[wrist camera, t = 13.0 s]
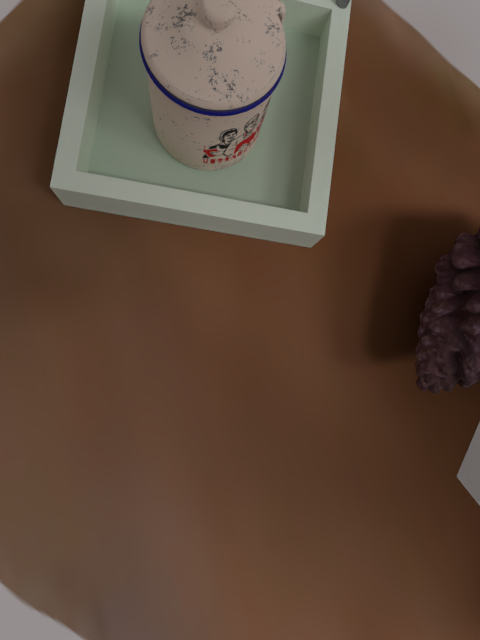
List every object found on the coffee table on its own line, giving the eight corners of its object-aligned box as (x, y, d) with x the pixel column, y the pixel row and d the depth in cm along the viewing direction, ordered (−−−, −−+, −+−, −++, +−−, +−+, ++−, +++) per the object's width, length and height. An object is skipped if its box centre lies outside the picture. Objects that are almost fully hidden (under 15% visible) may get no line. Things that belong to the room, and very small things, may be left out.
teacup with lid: (211, 198, 34) (225, 114, 22) (126, 120, 33) (95, -6, 22) (305, 100, 35) (364, -24, 24) (226, 25, 35) (246, -137, 24)
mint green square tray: (336, 30, 37) (432, -176, 23) (310, 247, 35) (399, 171, 21) (106, -25, 35) (53, -294, 20) (63, 205, 32) (-30, 84, 18)
